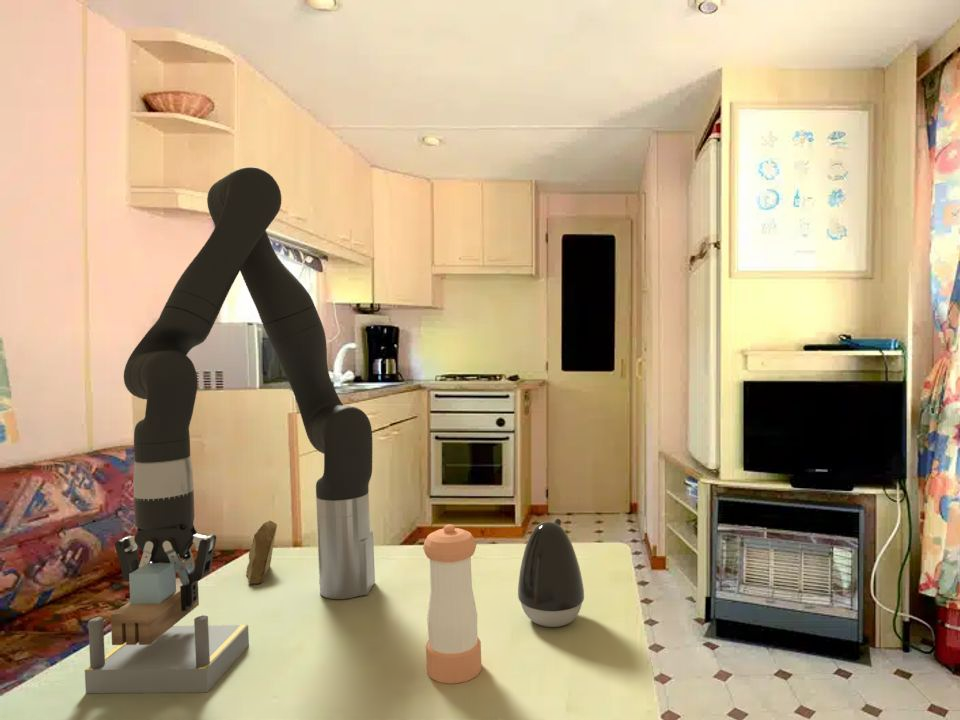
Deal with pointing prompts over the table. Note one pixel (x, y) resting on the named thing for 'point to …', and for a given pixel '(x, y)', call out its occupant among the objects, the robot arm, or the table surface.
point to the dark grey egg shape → (550, 577)
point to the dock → (165, 659)
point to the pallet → (147, 619)
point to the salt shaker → (451, 607)
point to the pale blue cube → (152, 583)
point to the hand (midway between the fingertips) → (168, 608)
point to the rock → (261, 552)
